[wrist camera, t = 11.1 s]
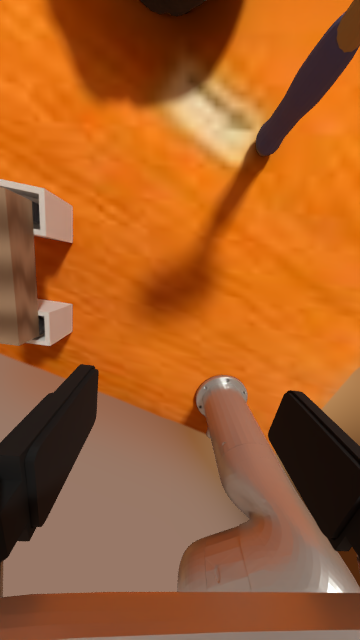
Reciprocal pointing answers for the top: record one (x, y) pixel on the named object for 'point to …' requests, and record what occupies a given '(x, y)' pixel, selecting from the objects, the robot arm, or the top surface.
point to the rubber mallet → (313, 78)
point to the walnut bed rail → (18, 270)
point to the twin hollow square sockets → (57, 227)
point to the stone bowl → (171, 6)
